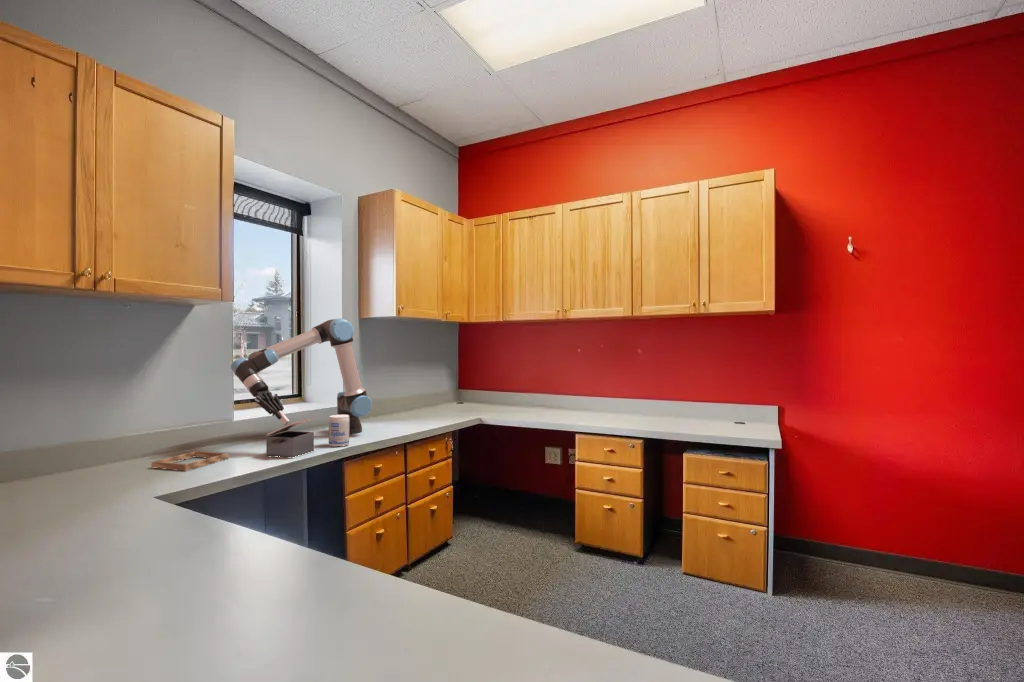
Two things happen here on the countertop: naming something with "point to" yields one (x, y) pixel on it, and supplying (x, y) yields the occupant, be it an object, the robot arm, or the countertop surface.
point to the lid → (289, 426)
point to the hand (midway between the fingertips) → (286, 423)
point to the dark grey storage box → (289, 443)
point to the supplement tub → (338, 430)
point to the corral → (210, 459)
